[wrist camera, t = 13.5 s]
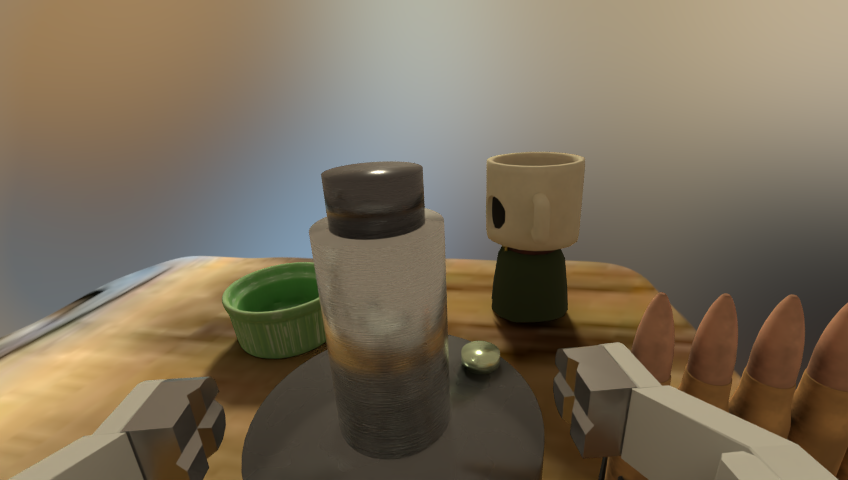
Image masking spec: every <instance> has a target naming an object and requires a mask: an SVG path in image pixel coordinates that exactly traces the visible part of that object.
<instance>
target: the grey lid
mask: <svg viewBox="0 0 848 480" xmlns="http://www.w3.org/2000/svg"><path fill="white" fill-rule="evenodd" d="M448 352H449V381H450V410H451V414H450V420H449V424H448V426H447V428H446V430H445V432H444V433H443V435H442V436H441V437H440V438H439V439H438V441H436V442H435V443H434V444H433V445H432V446H430V447H429V448H427V449H426V450H424V451H422V452H420V453H418V454H415V455H412V456H409V457H405V458H400V459H377V458H372V457H369V456H366V455H363V454H361V453H359V452H357V451H356V450H354V449H353V448H352V447H351V446H350V445H349V444H348V443H347V442H346V441H345V439H344V438H343V436H342V434H341V430H340V426H339V419H338V413H337V407H336V400H335V394H334V388H333V381H332V375H331V369H330V362H329V356H328V350H326V351H324V352H322V353H320V354H318V355H316V356H314V357H313V358H311V359H310V360H308V361H306V362H305V363H303V364H302V365H300V366H299V367H298V368H296V369H295V370H294V371H292V372H291V373H290V374H288V375H287V376H286V377H285V378H284V379H283V380H282V381H281V382H280V383H279V384H278V385H277V386H276V387H275V388H274V389H273V390H272V391H271V393H270V394H269V395H268V396H267V397H266V399H265V400H264V402H263V403H262V404H261V406H260V407H259V409H258V410H257V412H256V414H255V416H254V418H253V420H252V422H251V424H250V427H249V429H248V432H247V435H246V438H245V442H244V447H243V452H242V477H243V480H542V470H543V456H544V424H543V419H542V414H541V410H540V408H539V405H538V402H537V399H536V397H535V395H534V394H533V392H532V390H531V388H530V386H529V385H528V384H527V382H526V381H525V380H524V378H523V377H522V376H521V375H520V374H519V373H518V372H517V371H516V370H515V369H514V368H513V367H512V366H511V365H510V364H509V363H508V362H506V361H505V360H504V359H503V358H501V357H500V351H499V349H498V348H497V347H496V346H495V345H494V344H492V343H489V342H486V341H473V342H471V341H468V340H465V339H462V338H459V337H455V336H451V335H448Z"/></svg>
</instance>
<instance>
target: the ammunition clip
mask: <svg viewBox="0 0 848 480" xmlns="http://www.w3.org/2000/svg"><path fill="white" fill-rule="evenodd" d="M674 339H675V334H674V321H673V313H672V309H671V305H670V302H669V300H668V297H667V295H666V294H665V293H663V292H660V293H658V294H657V295H656V296H655V297H654V299H653V300H652V301H651V302H650V304H649V305H648V307H647V309H646V311H645V313H644V315H643V317H642V319H641V322H640V324H639V327H638V329H637V332H636V335H635V339H634V342H633V346H632V351H631V353H632V354H633V355H634V356H635V357H636V358H637V359H638V360H639V361H640V363H641V364H642V365H643V366H644V367H645V368H646V369H647V370H648V371H649V372H650V373H651V374H652V375H653V376H654V378H655V379H656V380H657V381H658V382H659V383H660V384H661V385H662V386H666V385H669V386H670V382H671V375H670V374H671V368H672V362H673V356H674ZM804 340H805V325H804V314H803V309H802V305H801V302H800V299H799V298H798V297H797V296H796V295H789V296H787V297H786V298H785V299H784V300H782V301H781V302H780V303H779V304H778V305H777V306H776V307H775V309H774V310H773V311H772V313H771V314H770V315H769V317H768V318H767V320H766V321H765V323H764V325H763V326H762V328H761V330H760V332H759V334H758V336H757V338H756V340H755V343H754V345H753V347H752V351H751V354H750V357H749V360H748V364H747V366H746V367H745V369H744V373H743V375H742V378H741V381H740V384H739V386H738V388H737V389H736V391H735V392H734V394H733V395H732V397H731V399H730V400H729V395H730V390H731V384H732V374H733V370H734V366H735V361H736V353H737V343H738V323H737V313H736V309H735V305H734V302H733V299H732V297H731V296H730V295H729V294H722V295H721V296H720V297H719V298H718V299H717V300H716V301H715V302H714V303H713V304H712V305H711V307H710V308H709V310H708V311H707V313H706V315H705V316H704V318H703V320H702V322H701V324H700V326H699V328H698V330H697V333H696V336H695V338H694V341H693V344H692V347H691V351H690V355H689V360H688V364H687V365H686V367H685V371H684V374H683V378H682V382H681V384H680V386H679V388H678V390H680V391H682V392H685V393H687V394H689V395H691V396H693V397H695V398H698V399H700V400H702V401H704V402H706V403H708V404H711V405H713V406H715V407H717V408H719V409H722V410H724V411H726V412H728V413H730V414H732V415H735V416H737V417H739V418H741V419H743V420H745V421H748V422H750V423H752V424H754V425H756V426H759V427H761V428H763V429H765V430H767V431H769V432H772V433H774V434H776V435H778V436H780V437H782V438H785V439H787V440H789V441H791V442H793V443H796V444H798V445H799V446H800V447H801V448H802V449H804V450H805V451H806V452H807V453H808V454H809V455H810V456H812V457H813V458H814V459H815V460H816V461H817V462H819V463H820V464H821V465H822V466H823V467H824V468H825V469H827V470H828V471H829V472H830V473H831V474H832V475H834V476H835V477H836V478H837V479H838V480H848V303H847V304H846V305H845V306H844V307H843V308H842V309H841V310H840V311H839V312H838V313H837V314H836V316H835V317H834V318H833V319H832V320H831V322H830V323H829V324H828V326H827V327H826V329H825V330H824V332H823V333H822V335H821V337H820V339H819V341H818V343H817V345H816V347H815V349H814V351H813V354H812V356H811V359H810V362H809V364H808V367H807V368H806V369H805V371H804V373H803V376H802V379H801V381H800V383H799V385H798V388H797V389H796V391H795V388H796V379H797V376H798V373H799V369H800V366H801V361H802V356H803V349H804ZM598 480H648V479H647V478H646V477H644V476H643V475H642V474H641V473H639V472H638V471H637V470H636V469H634V468H633V467H632V466H631V465H629V464H628V463H627V462H625V461H624V460H623V459H622V458H621V456H613V457H603V460H602V465H601V469H600V474H599V479H598Z"/></svg>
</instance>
